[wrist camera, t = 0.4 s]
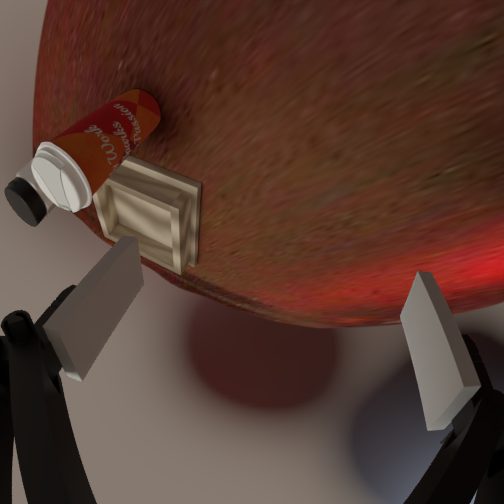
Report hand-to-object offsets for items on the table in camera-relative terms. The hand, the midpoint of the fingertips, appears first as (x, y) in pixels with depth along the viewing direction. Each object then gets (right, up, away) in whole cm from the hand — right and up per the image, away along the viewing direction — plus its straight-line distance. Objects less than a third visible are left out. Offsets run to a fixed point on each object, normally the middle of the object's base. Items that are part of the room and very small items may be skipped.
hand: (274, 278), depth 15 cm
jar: (-31, +17, +31) cm, 47 cm away
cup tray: (-16, +8, +32) cm, 37 cm away
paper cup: (-13, +18, +18) cm, 29 cm away
